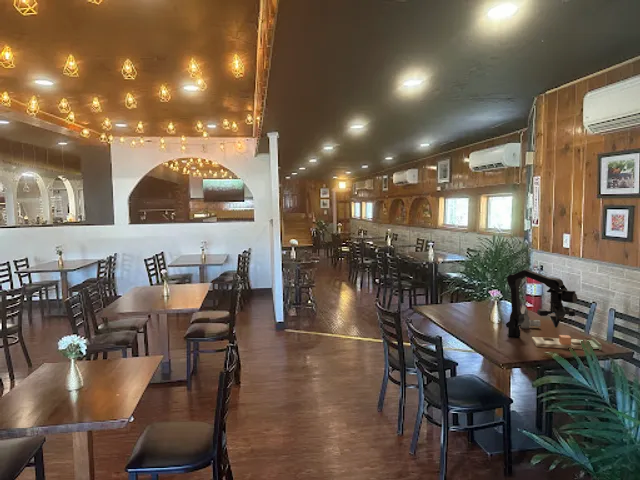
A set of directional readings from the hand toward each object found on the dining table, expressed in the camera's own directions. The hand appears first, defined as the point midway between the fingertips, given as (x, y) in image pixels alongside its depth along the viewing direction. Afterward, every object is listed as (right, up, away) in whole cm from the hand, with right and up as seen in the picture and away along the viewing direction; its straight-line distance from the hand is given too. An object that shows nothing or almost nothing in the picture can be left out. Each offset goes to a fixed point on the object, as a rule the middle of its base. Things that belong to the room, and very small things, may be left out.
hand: (555, 327), depth 246 cm
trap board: (+7, -11, +3) cm, 13 cm away
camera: (+5, -9, +41) cm, 42 cm away
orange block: (+5, -9, 0) cm, 11 cm away
